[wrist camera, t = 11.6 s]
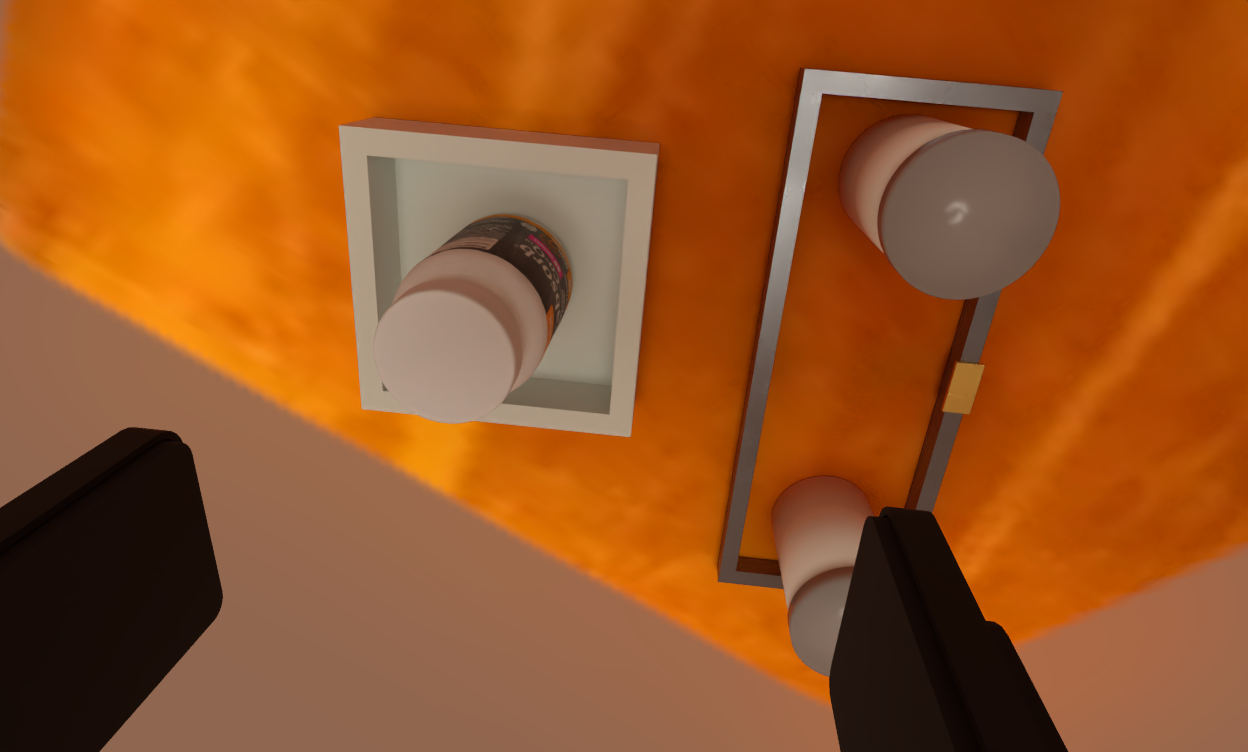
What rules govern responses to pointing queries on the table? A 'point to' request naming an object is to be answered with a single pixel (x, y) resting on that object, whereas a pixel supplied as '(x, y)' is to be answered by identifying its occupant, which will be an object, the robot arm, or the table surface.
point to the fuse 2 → (950, 203)
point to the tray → (527, 186)
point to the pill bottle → (474, 319)
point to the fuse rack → (971, 329)
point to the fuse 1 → (818, 560)
